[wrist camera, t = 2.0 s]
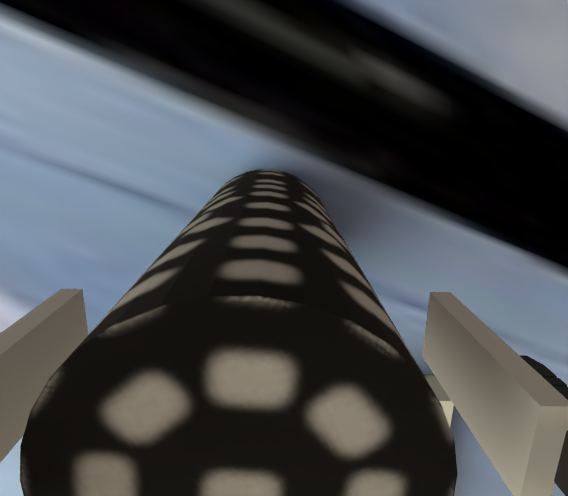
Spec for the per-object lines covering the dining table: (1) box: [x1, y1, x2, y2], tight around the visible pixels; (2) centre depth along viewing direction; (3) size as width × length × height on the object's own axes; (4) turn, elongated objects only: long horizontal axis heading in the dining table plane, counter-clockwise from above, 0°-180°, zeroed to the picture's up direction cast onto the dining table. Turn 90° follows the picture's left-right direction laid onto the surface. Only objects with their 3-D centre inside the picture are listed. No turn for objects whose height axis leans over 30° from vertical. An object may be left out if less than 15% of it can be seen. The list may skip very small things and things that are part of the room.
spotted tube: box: [20, 170, 457, 496], centre depth 17 cm, size 8×8×20 cm
